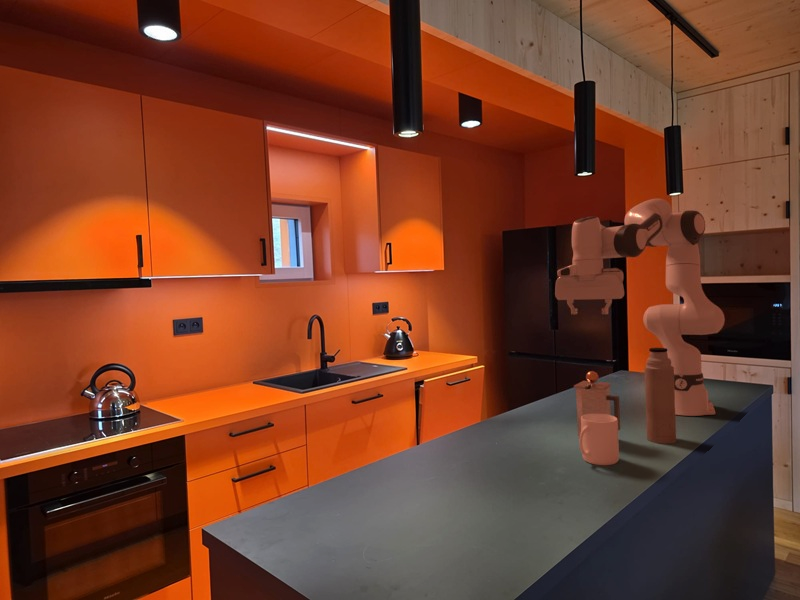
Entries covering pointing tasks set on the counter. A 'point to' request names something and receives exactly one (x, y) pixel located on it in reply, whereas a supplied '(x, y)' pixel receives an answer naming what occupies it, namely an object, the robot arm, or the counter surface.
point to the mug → (599, 439)
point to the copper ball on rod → (592, 377)
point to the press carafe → (595, 401)
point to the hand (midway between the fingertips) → (589, 314)
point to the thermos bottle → (660, 397)
